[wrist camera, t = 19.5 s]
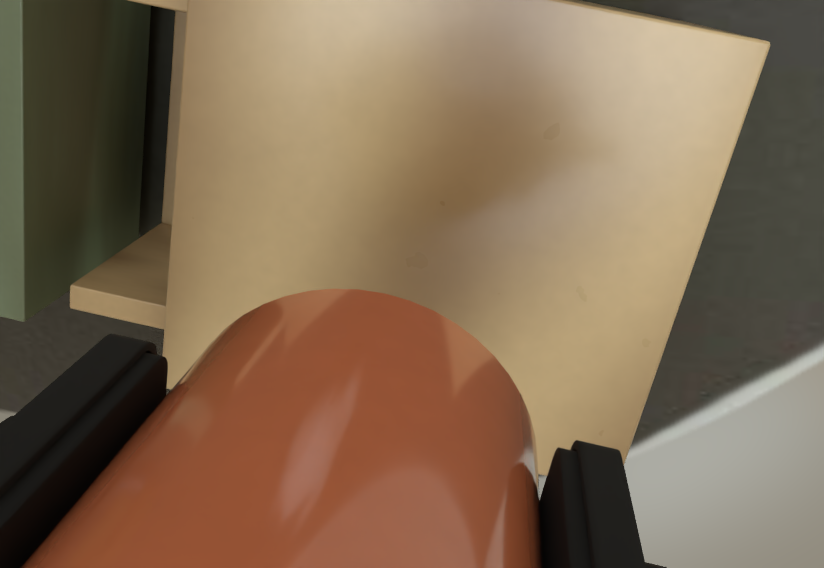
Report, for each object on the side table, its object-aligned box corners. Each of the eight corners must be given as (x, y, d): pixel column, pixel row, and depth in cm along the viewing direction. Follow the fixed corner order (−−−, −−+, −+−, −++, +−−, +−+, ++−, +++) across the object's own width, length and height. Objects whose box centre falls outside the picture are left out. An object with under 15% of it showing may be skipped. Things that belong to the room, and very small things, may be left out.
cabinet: (258, 274, 32) (159, 387, 23) (298, -57, 27) (191, -76, 18) (586, 346, 31) (615, 493, 22) (685, 21, 26) (772, 42, 17)
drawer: (-27, 206, 31) (-189, 273, 24) (-37, -105, 27) (-238, -137, 20) (416, 304, 30) (385, 404, 23) (478, -1, 26) (465, 6, 19)
